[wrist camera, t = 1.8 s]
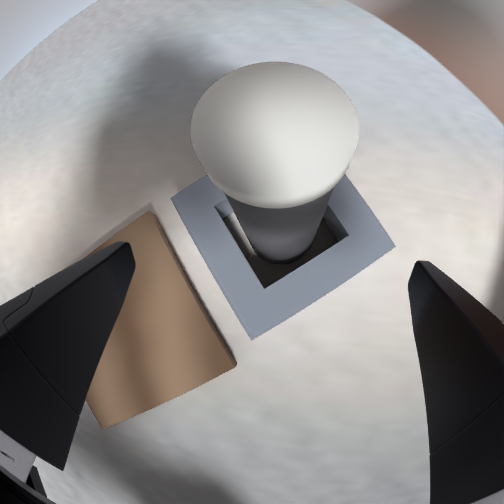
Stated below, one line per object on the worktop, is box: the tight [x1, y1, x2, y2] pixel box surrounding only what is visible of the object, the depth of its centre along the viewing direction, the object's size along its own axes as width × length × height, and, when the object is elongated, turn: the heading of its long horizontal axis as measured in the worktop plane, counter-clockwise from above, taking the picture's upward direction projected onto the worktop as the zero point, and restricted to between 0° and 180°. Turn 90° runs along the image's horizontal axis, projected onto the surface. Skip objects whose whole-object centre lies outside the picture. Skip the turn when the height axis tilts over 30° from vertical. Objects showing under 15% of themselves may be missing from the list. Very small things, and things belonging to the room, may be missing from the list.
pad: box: [85, 211, 237, 429], centre depth 19 cm, size 12×12×1 cm
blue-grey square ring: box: [170, 174, 395, 340], centre depth 19 cm, size 10×10×3 cm
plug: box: [190, 62, 359, 264], centre depth 14 cm, size 5×5×12 cm
